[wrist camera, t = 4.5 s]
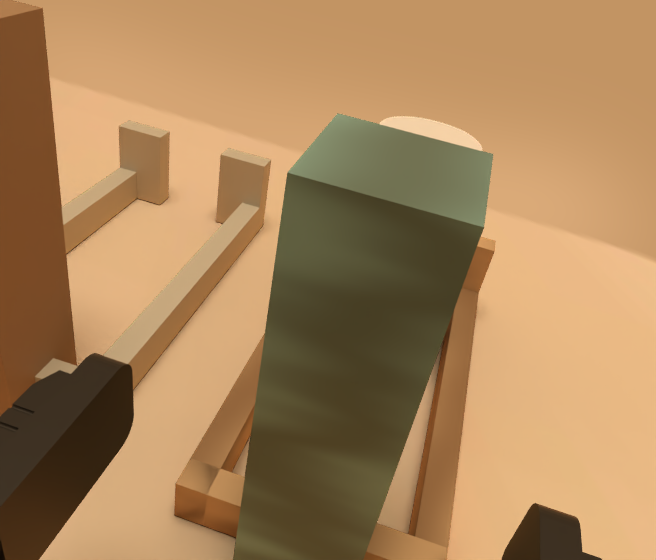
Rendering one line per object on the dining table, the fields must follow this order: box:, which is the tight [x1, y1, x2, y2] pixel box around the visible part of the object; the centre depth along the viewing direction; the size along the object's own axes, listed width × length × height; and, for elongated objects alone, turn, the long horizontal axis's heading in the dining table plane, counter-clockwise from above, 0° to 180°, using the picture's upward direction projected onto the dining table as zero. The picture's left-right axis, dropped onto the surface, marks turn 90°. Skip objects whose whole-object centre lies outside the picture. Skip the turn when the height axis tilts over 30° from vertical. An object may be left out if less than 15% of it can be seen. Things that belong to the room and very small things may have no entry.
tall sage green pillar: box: [175, 114, 495, 560], centre depth 21 cm, size 8×17×13 cm, turn 164°
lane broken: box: [0, 0, 271, 416], centre depth 24 cm, size 8×17×13 cm, turn 165°
